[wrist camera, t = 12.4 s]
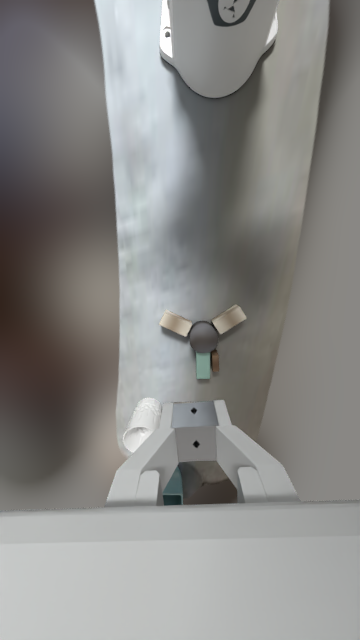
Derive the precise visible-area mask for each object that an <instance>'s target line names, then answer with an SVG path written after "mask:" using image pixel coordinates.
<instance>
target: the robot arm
mask: <svg viewBox="0 0 360 640" xmlns="http://www.w3.org/2000/svg"><path fill="white" fill-rule="evenodd" d="M278 4H279V0H162V12H161V28H160V54H161V56H162V57H163V59H164V60H166V61H167V62H168V63H170V64H171V65H173V66H174V67H175V68H176V69H177V70H178V72H179V74H180V75H181V77H182V78H183V80H184V81H185V83H186V84H187V85H188V86H189V87H190V88H191V89H192V90H193V91H195V92H196V93H198V94H200V95H202V96H205V97H210V98H219V97H224V96H227V95H229V94H231V93H233V92H235V91H236V90H237V89H239V88H240V87H241V86H242V85H243V84H244V83H245V82H246V81H247V79H248V78H249V77H250V75H251V74H252V72H253V70H254V68H255V66H256V64H257V62H258V60H259V58H260V57H261V55H262V54H263V53H265V52H266V51H267V50H268V49H269V48H270V46H271V45H272V44H273V43H274V41H275V38H276V35H277V32H278V21H277V12H276V10H277V7H278ZM166 37H169V38H168V39H167V38H166ZM197 459H198V460H197ZM189 461H217V462H218V464H219V465H220V466H221V468H222V469H223V471H224V472H225V473H226V475H227V476H228V477H229V479H230V480H231V482H232V483H233V484H234V486H235V487H236V488H237V490H238V503H236V504H203V505H169V506H164V501H163V494H162V493H163V491H164V489H165V487H166V485H167V484H168V482H169V480H170V478H171V476H172V474H173V473H174V471H175V469H176V467H177V465H178V464H179V463H178V462H189ZM0 640H360V500H335V501H334V500H333V501H300V499H299V497H298V495H297V493H296V491H295V489H294V487H293V485H292V483H291V481H290V479H289V477H288V475H287V473H286V471H285V469H284V467H283V465H282V464H281V463H280V462H279V461H277V460H276V459H275V458H274V457H272V456H271V455H270V454H269V453H268V452H267V451H265V450H264V449H263V448H262V447H261V446H259V445H258V444H257V443H256V442H255V441H253V440H252V439H251V438H250V437H249V436H247V435H246V434H245V433H244V432H243V431H241V430H240V429H239V428H238V427H237V426H235V425H232V424H231V421H230V417H229V414H228V411H227V408H226V404H225V401H224V400H213V401H200V402H174V403H163V406H162V412H161V419H160V425H159V429H155V430H154V432H153V433H152V434H151V435H150V436H149V437H148V438H147V439H146V440H145V441H144V442H143V443H142V444H141V445H140V446H139V447H138V449H137V450H136V451H135V452H134V453H133V454H132V455H131V456H130V457H129V458H128V459H127V460H126V461H125V462H124V463H123V465H122V466H121V467H120V468H119V469H118V470H117V472H116V474H115V477H114V480H113V483H112V486H111V489H110V492H109V495H108V498H107V501H106V504H105V507H103V508H72V509H71V508H70V509H41V510H40V509H38V510H7V511H6V510H4V511H0Z"/></svg>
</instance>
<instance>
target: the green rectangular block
mask: <svg viewBox="0 0 360 640" xmlns="http://www.w3.org/2000/svg"><path fill="white" fill-rule="evenodd" d="M196 376H197V379H210V352H208V353H199V352H197V351H196Z"/></svg>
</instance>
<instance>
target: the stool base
mask: <svg viewBox="0 0 360 640" xmlns="http://www.w3.org/2000/svg"><path fill="white" fill-rule="evenodd" d="M245 319H247V318H246V316H245V314H244V313H243V311H242V310H241V308H240V307H239V306H238V305H234V306H232V307H231V308H229V309H228V310H226V311H225V312H223V313H221V314H220V315H218V316H217V317H215V318H214V319H212V322H213V324H214V326H215V327H216V328H217V330H218V331H219V333H220V334H222V333H224V332H226V331H227V330H229V329H230V328H232V327H234V326H235V325H237V324H238V323H240V322H242V321H243V320H245ZM159 325H161V326H163V327H165V328H167V329H170V330H172V331H174V332H176V333H178V334H181V335H183V336H185V337H186V336H187V334H188V332H189V337H190V344H191V347H192V348H193V349H194V350H195V351H197V352H199V353H208V352H211V366H212V370H213V372H217V371H219V355H218V353H217V350H214V349H215V348H216V346H217V344H218V335H217V333H216V331H215V329H214V327H213V326H212V325H211V324H210V323H209V322H206V321H198V322H196V323H194V324H193V325H192V321H190V320H187V319H185V318H183V317H181V316H179V315H177V314H174V313H172V312H170V311H168V310H165V312H164V315H163V317H162V319H161V321H160V323H159ZM189 330H190V331H189Z"/></svg>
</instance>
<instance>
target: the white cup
mask: <svg viewBox="0 0 360 640" xmlns="http://www.w3.org/2000/svg"><path fill="white" fill-rule="evenodd" d="M161 412H162V406H161V404H160V403H159V402H158V401H157V400H156V399H153V398H144V399H142V400H140V401H139V403H138V404H137V406H136V409H135V410H134V412H133V415H132V417H131V419H130V421H129V424H128V426H127V428H126V431H125V433H124V436H123V443H124V446H125V447H126V448H127V450H129V451H130V452H132V453H134V452H135V451H136V450H137V449H138V447H139V446H140V445H141V444H142V443H143V442H144V441H145V440H146V439H147V438H148V437H149V436H150V435H151V434H152V433H153V432H154V430H155V429H159V425H160V419H161Z"/></svg>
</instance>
